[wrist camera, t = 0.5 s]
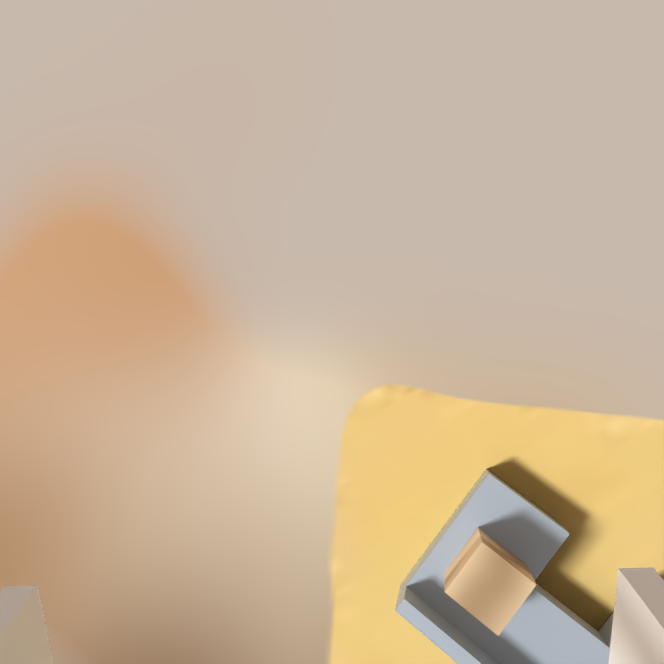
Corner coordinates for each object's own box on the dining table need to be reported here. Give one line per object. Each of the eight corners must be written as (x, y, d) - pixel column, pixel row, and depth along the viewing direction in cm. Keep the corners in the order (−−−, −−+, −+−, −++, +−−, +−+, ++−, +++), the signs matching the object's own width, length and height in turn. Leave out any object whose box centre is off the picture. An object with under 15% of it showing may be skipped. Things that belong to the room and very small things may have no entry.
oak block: (526, 564, 38) (536, 584, 34) (492, 610, 38) (498, 636, 34) (477, 526, 39) (482, 542, 35) (444, 572, 39) (444, 592, 35)
